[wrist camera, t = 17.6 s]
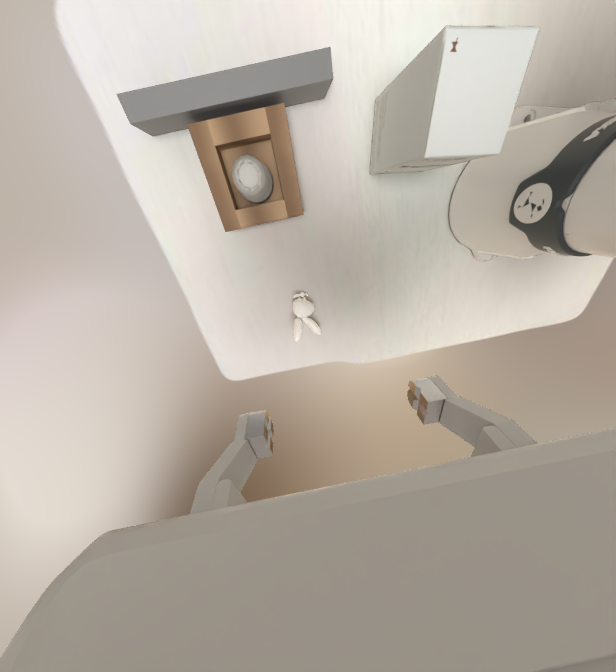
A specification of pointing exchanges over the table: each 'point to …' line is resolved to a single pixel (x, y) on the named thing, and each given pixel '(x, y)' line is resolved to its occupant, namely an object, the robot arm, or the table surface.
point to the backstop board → (229, 92)
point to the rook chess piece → (252, 179)
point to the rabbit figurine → (303, 316)
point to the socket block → (255, 140)
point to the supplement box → (452, 99)
